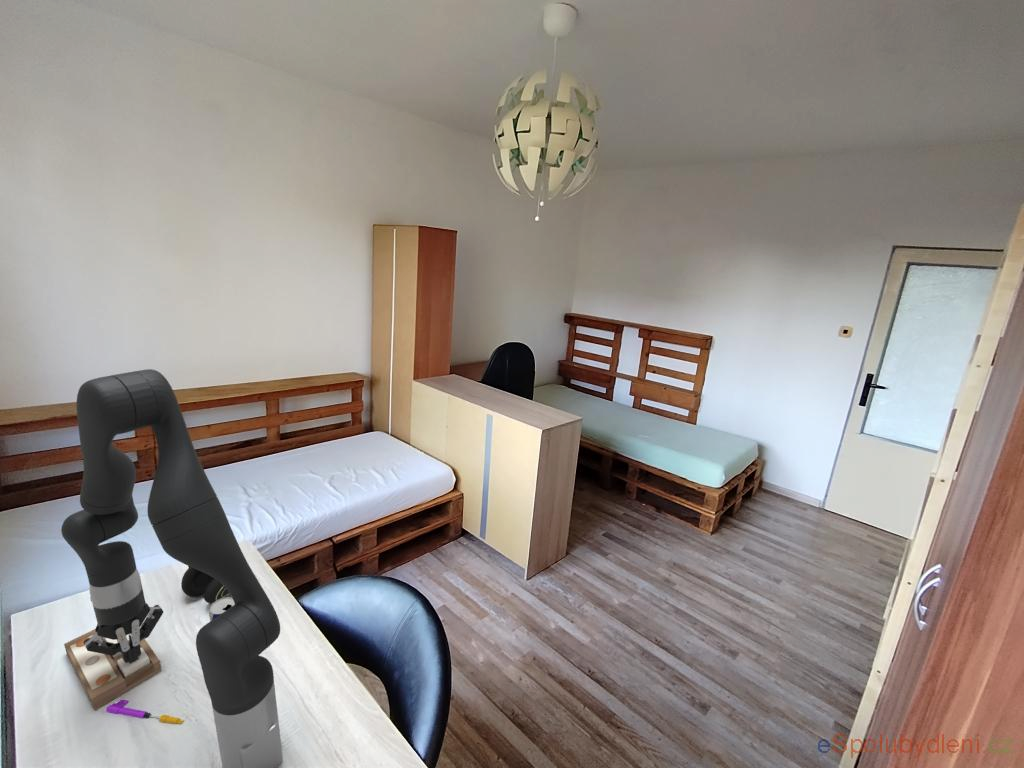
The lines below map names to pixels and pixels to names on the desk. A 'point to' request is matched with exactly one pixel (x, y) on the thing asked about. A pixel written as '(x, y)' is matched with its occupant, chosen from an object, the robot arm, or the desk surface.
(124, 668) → the button
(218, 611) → the energy drink
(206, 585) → the headphones
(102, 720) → the desk surface
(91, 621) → the desk surface
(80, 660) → the button board
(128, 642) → the button middle
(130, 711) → the purple-handled probe tool
